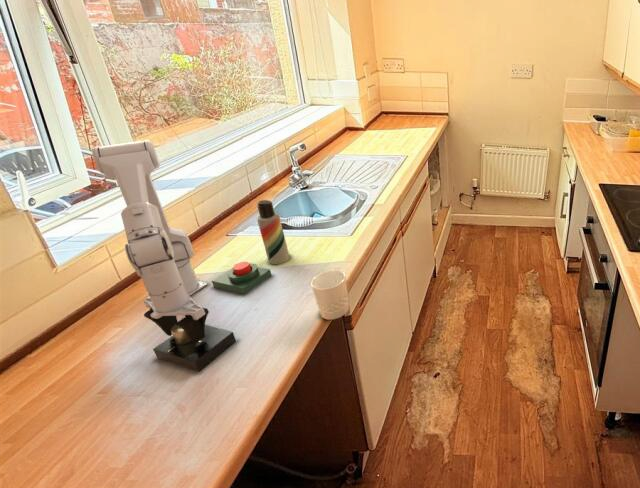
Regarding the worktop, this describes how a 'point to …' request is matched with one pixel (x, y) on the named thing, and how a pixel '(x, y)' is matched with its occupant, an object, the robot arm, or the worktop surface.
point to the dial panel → (196, 349)
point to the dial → (180, 335)
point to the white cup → (331, 294)
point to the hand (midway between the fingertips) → (186, 336)
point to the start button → (241, 268)
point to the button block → (242, 280)
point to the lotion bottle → (272, 233)
